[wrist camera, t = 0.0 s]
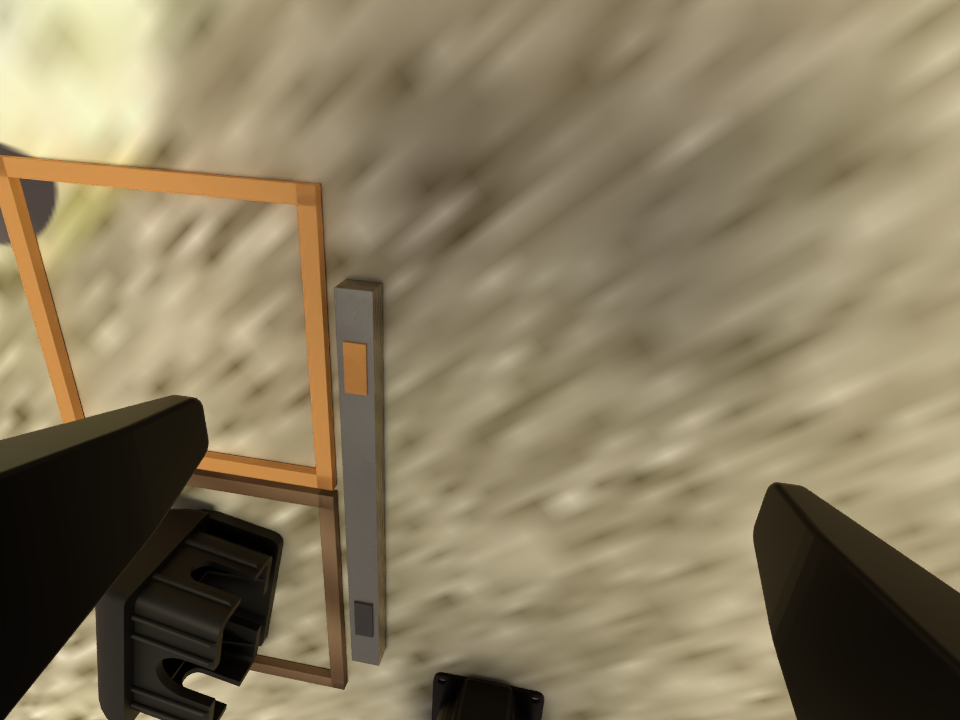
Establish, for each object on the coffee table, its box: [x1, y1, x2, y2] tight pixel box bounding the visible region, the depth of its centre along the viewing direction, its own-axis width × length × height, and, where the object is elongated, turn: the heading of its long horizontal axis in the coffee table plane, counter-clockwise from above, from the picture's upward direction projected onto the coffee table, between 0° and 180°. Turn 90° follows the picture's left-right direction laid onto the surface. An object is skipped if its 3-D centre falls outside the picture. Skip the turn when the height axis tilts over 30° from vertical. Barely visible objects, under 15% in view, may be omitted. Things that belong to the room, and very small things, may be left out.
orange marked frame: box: [0, 155, 337, 491], centre depth 25 cm, size 15×15×1 cm
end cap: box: [95, 509, 283, 720], centre depth 29 cm, size 10×7×7 cm
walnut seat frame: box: [186, 469, 347, 690], centre depth 32 cm, size 15×15×1 cm
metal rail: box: [334, 280, 386, 666], centre depth 27 cm, size 22×2×1 cm, turn 176°
